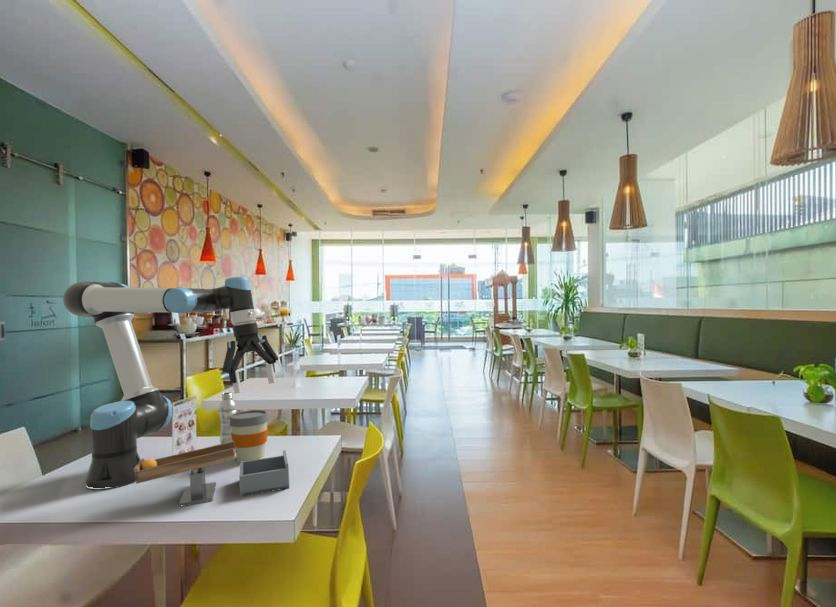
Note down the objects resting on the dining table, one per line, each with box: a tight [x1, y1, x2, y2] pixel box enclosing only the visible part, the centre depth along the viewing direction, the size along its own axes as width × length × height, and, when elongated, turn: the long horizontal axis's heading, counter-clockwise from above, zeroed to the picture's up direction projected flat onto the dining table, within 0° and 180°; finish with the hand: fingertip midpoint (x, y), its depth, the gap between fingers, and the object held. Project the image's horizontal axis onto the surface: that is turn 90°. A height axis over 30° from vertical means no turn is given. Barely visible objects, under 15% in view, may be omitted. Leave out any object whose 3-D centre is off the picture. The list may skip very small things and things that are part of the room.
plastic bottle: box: [217, 391, 238, 444], centre depth 171 cm, size 6×7×20 cm
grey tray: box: [238, 450, 290, 497], centre depth 132 cm, size 13×13×7 cm
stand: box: [178, 467, 217, 507], centre depth 127 cm, size 12×8×7 cm, turn 20°
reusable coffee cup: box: [230, 409, 269, 462], centre depth 157 cm, size 13×12×15 cm
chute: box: [134, 441, 236, 485], centre depth 129 cm, size 17×24×5 cm
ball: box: [141, 458, 157, 470], centre depth 123 cm, size 4×4×4 cm
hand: (255, 388), depth 148 cm, fingers open, 13 cm apart
